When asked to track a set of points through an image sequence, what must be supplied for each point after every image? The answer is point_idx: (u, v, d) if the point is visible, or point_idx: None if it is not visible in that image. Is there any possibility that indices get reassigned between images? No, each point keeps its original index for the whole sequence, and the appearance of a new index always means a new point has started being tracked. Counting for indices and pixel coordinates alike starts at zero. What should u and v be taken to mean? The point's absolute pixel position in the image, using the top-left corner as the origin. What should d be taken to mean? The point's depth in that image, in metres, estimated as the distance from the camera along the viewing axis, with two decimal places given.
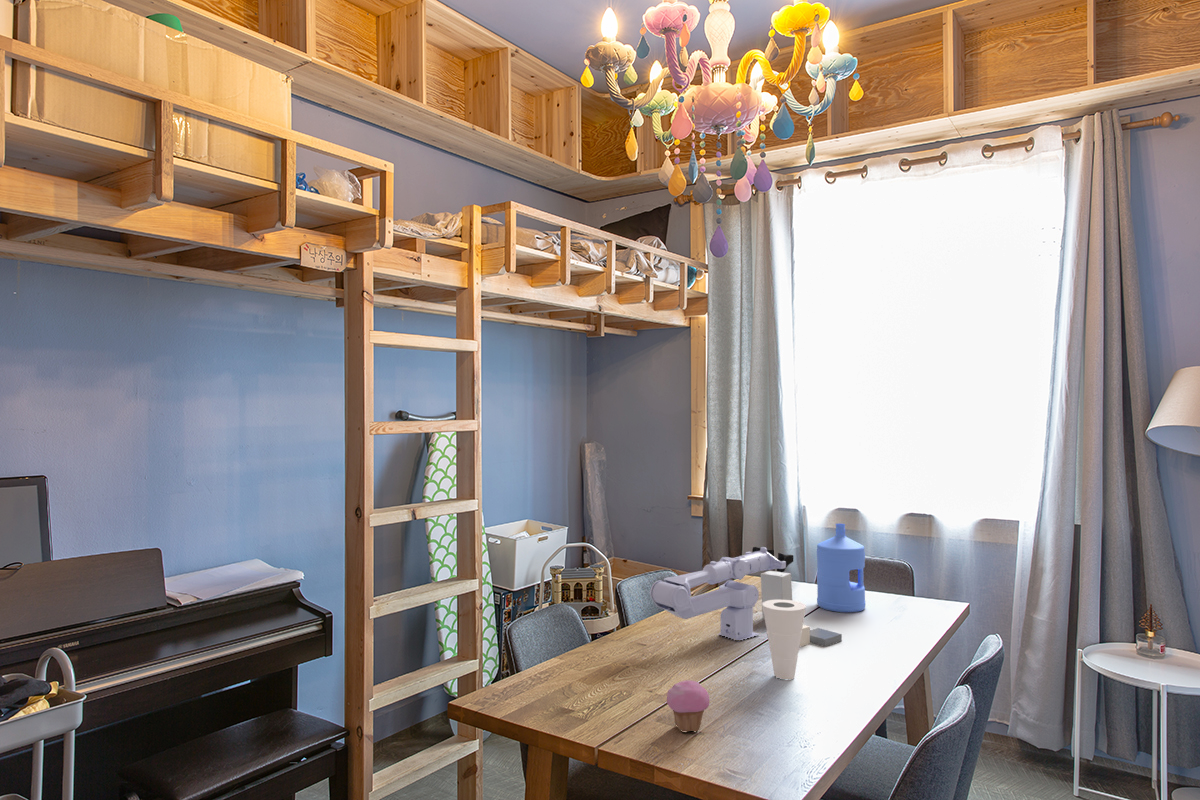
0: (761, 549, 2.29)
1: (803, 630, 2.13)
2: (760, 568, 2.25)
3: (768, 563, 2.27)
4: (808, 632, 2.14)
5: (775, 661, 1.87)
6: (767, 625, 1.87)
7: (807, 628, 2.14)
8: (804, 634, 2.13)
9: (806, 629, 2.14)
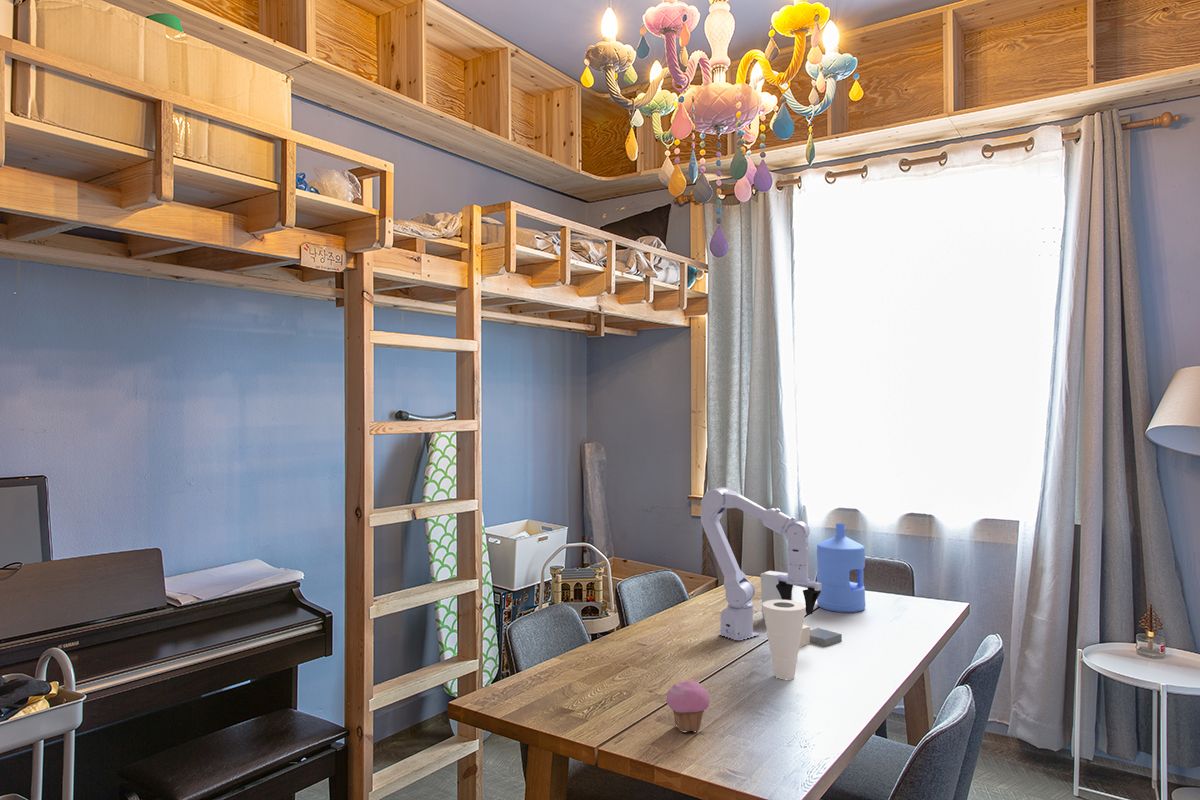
0: (792, 581, 2.13)
1: (803, 630, 2.13)
2: None
3: None
4: (808, 632, 2.14)
5: (775, 661, 1.87)
6: (767, 625, 1.87)
7: (807, 628, 2.14)
8: (804, 634, 2.13)
9: (806, 629, 2.14)
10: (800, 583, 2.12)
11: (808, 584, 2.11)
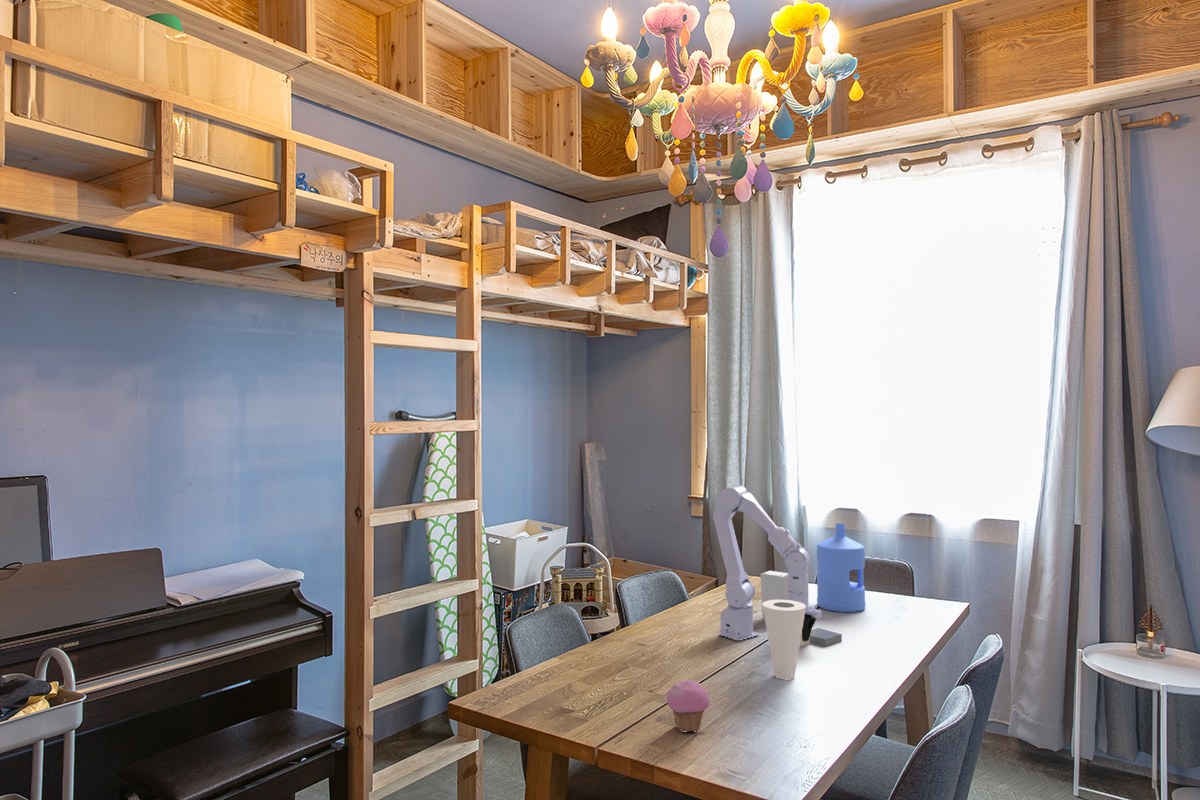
0: None
1: None
2: None
3: None
4: None
5: (775, 661, 1.87)
6: (767, 625, 1.87)
7: None
8: None
9: None
10: None
11: (808, 612, 2.11)
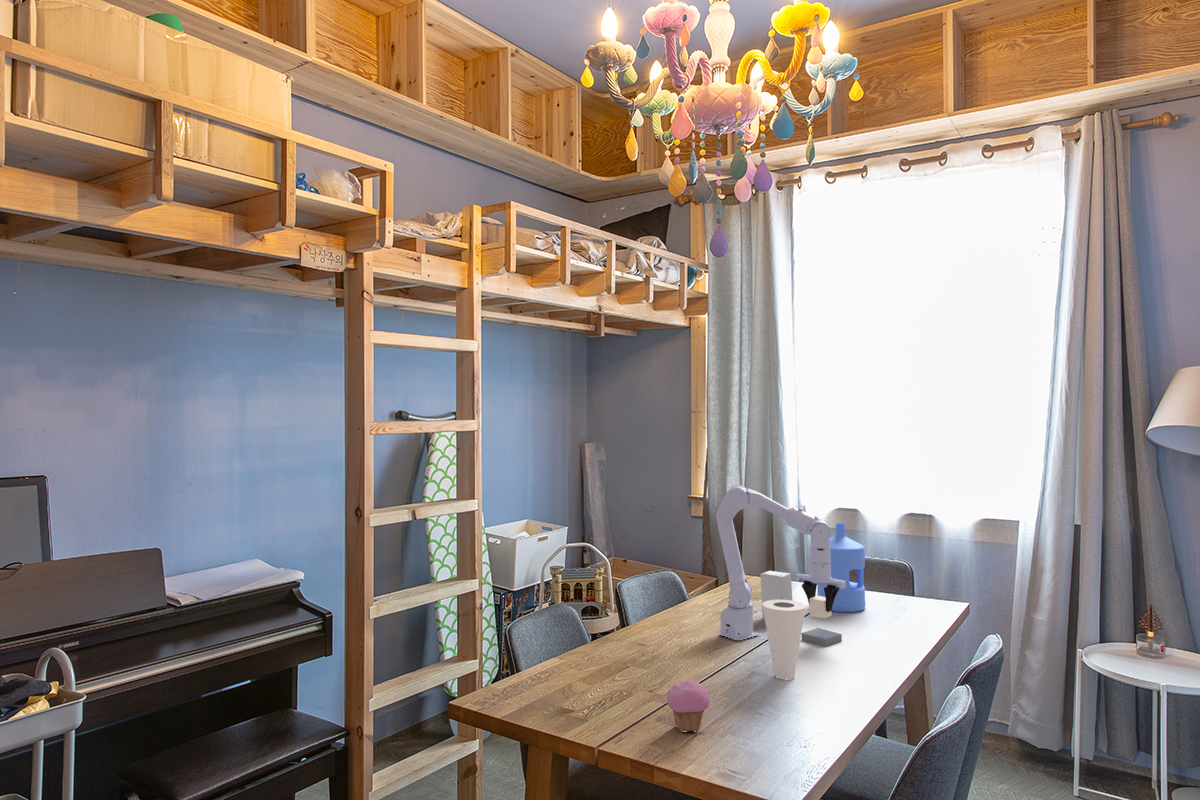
0: (816, 579, 2.15)
1: None
2: None
3: None
4: None
5: (775, 661, 1.87)
6: (767, 625, 1.87)
7: None
8: None
9: None
10: (824, 581, 2.14)
11: (833, 582, 2.14)
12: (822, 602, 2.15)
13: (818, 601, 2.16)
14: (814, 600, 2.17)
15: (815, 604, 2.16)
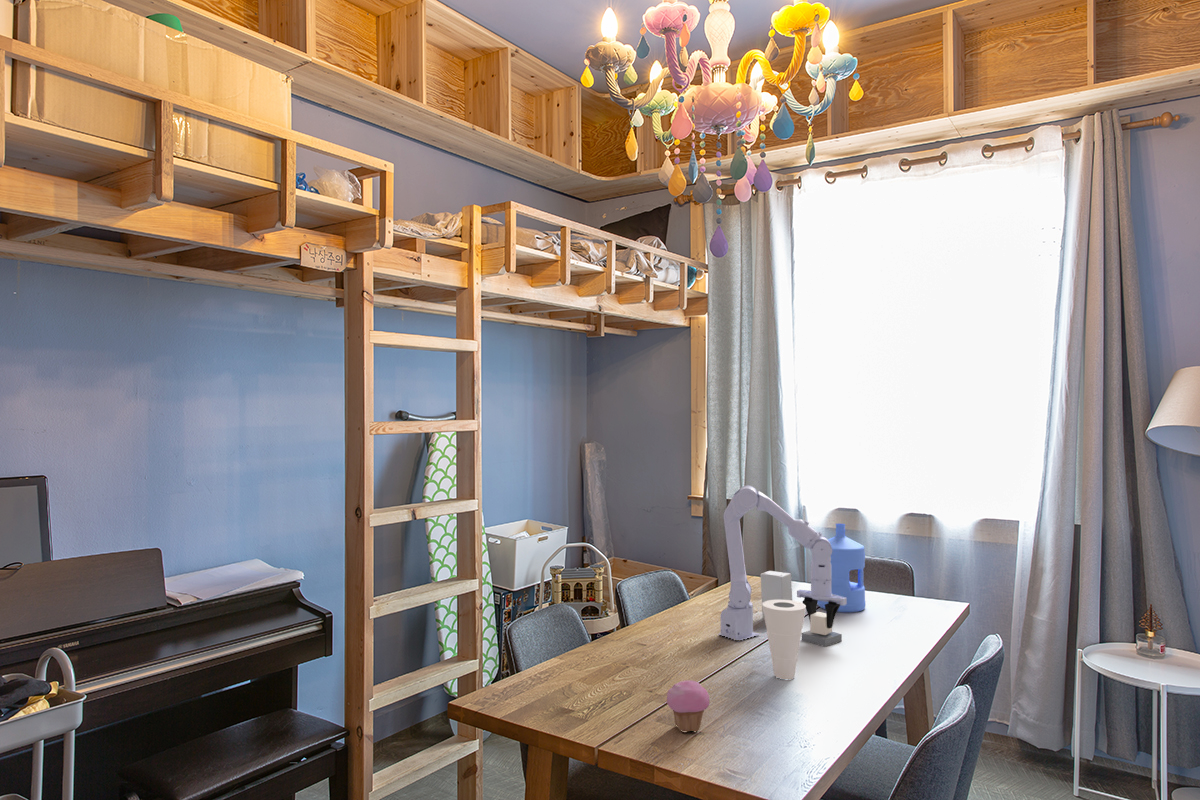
0: (817, 596, 2.15)
1: None
2: None
3: None
4: None
5: (775, 661, 1.87)
6: (767, 625, 1.87)
7: None
8: None
9: None
10: (825, 598, 2.15)
11: (834, 599, 2.14)
12: (823, 619, 2.15)
13: (819, 618, 2.16)
14: (815, 617, 2.17)
15: (816, 621, 2.16)
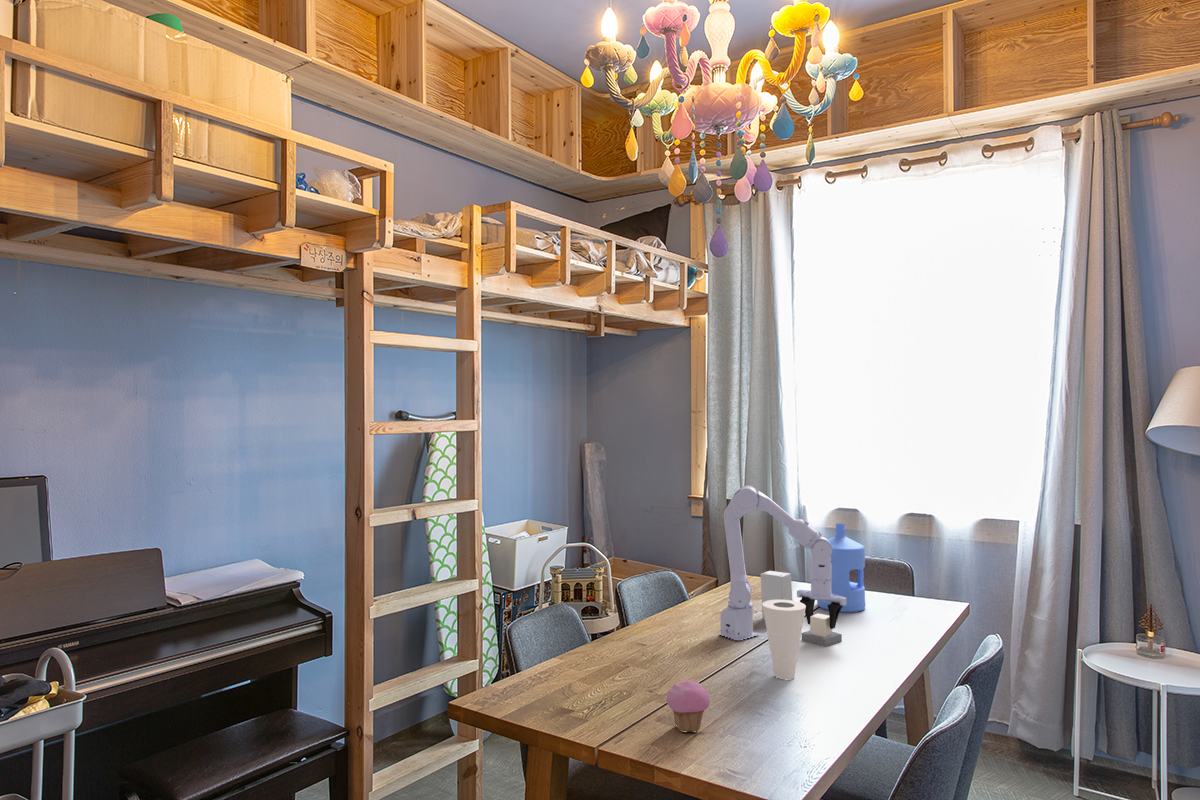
0: (817, 596, 2.15)
1: (827, 620, 2.16)
2: None
3: None
4: None
5: (775, 661, 1.87)
6: (767, 625, 1.87)
7: None
8: (828, 624, 2.16)
9: (829, 619, 2.17)
10: (825, 598, 2.15)
11: (834, 599, 2.14)
12: (823, 620, 2.15)
13: (819, 619, 2.16)
14: (815, 618, 2.17)
15: (816, 622, 2.16)
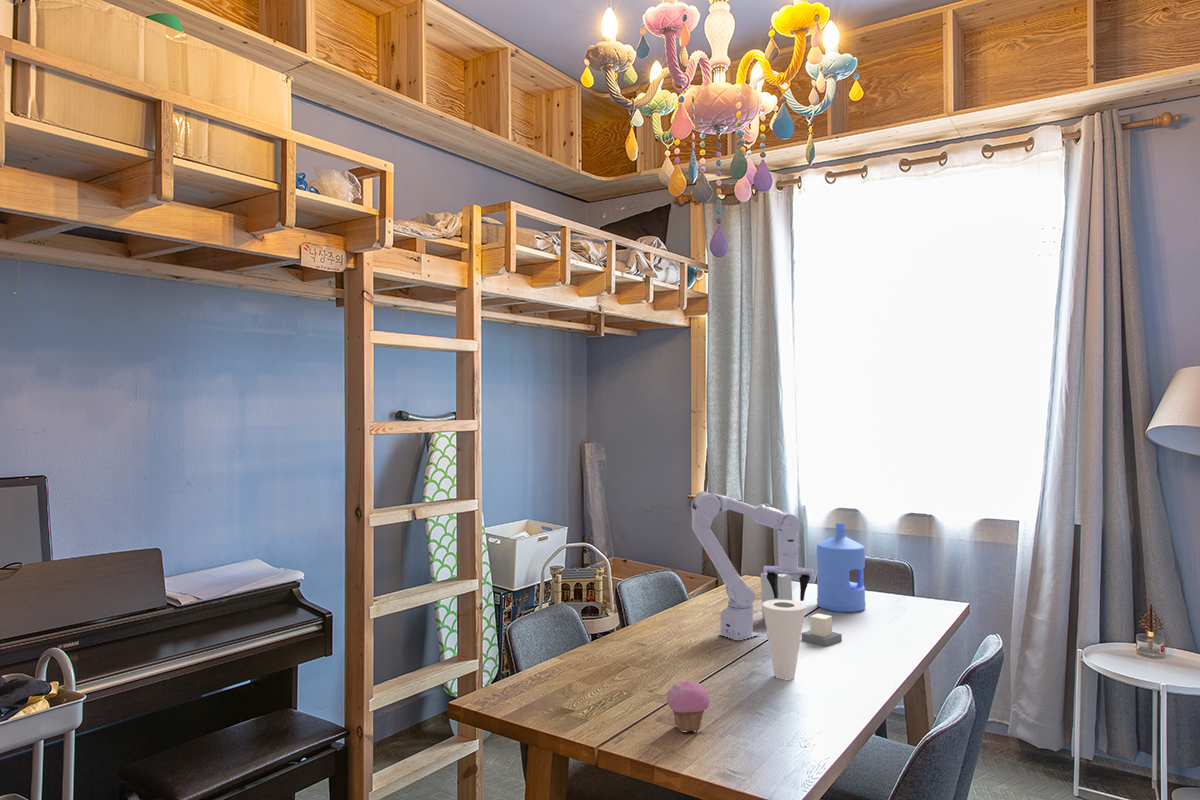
0: (788, 570, 2.21)
1: (827, 620, 2.16)
2: None
3: None
4: (831, 621, 2.17)
5: (775, 661, 1.87)
6: (767, 625, 1.87)
7: (830, 618, 2.17)
8: (828, 624, 2.16)
9: (829, 619, 2.17)
10: (795, 571, 2.21)
11: (803, 571, 2.21)
12: (823, 620, 2.15)
13: (819, 619, 2.16)
14: (815, 618, 2.17)
15: (816, 622, 2.16)
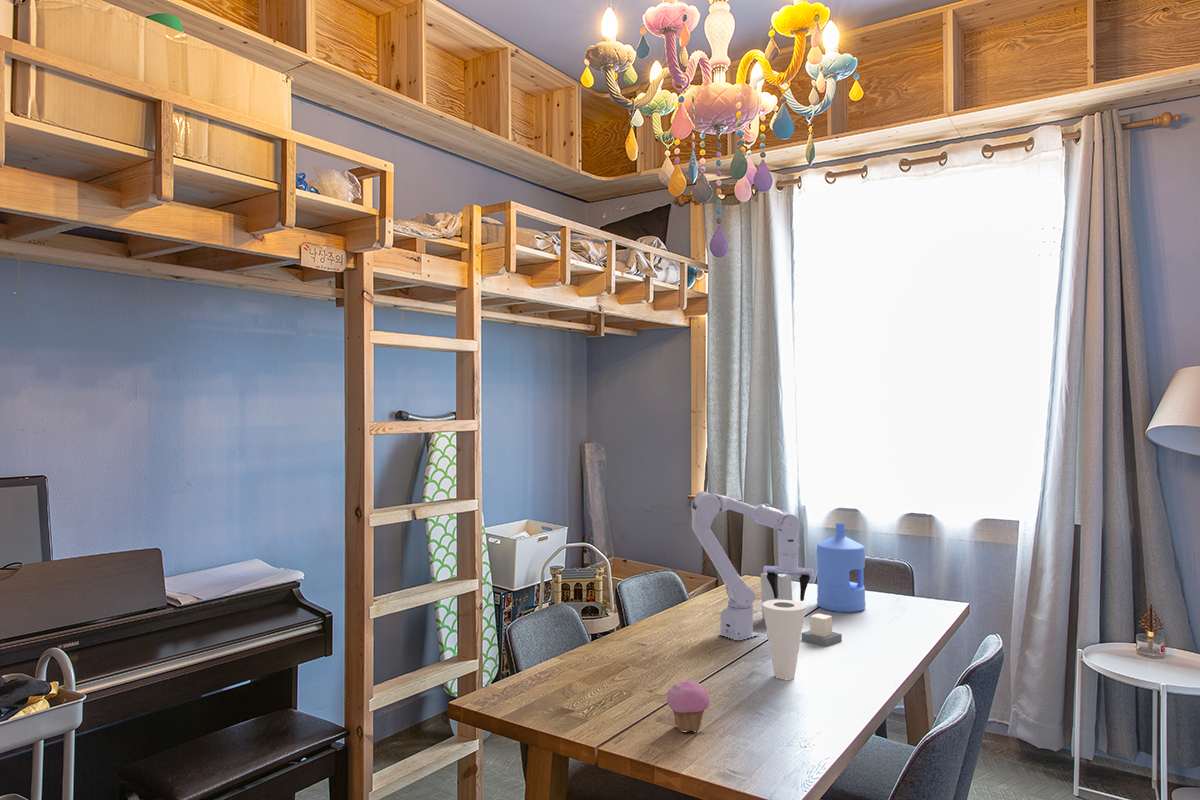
0: (788, 570, 2.21)
1: (827, 620, 2.16)
2: None
3: None
4: (831, 621, 2.17)
5: (775, 661, 1.87)
6: (767, 625, 1.87)
7: (830, 618, 2.17)
8: (828, 624, 2.16)
9: (829, 619, 2.17)
10: (795, 571, 2.21)
11: (803, 571, 2.21)
12: (823, 620, 2.15)
13: (819, 619, 2.16)
14: (815, 618, 2.17)
15: (816, 622, 2.16)
